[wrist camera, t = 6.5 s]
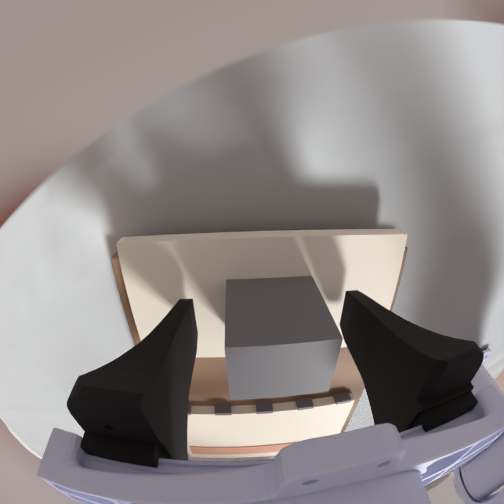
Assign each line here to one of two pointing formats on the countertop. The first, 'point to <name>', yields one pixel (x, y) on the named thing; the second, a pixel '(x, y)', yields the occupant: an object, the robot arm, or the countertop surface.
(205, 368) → the board
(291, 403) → the ticket
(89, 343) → the countertop surface
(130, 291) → the stub
